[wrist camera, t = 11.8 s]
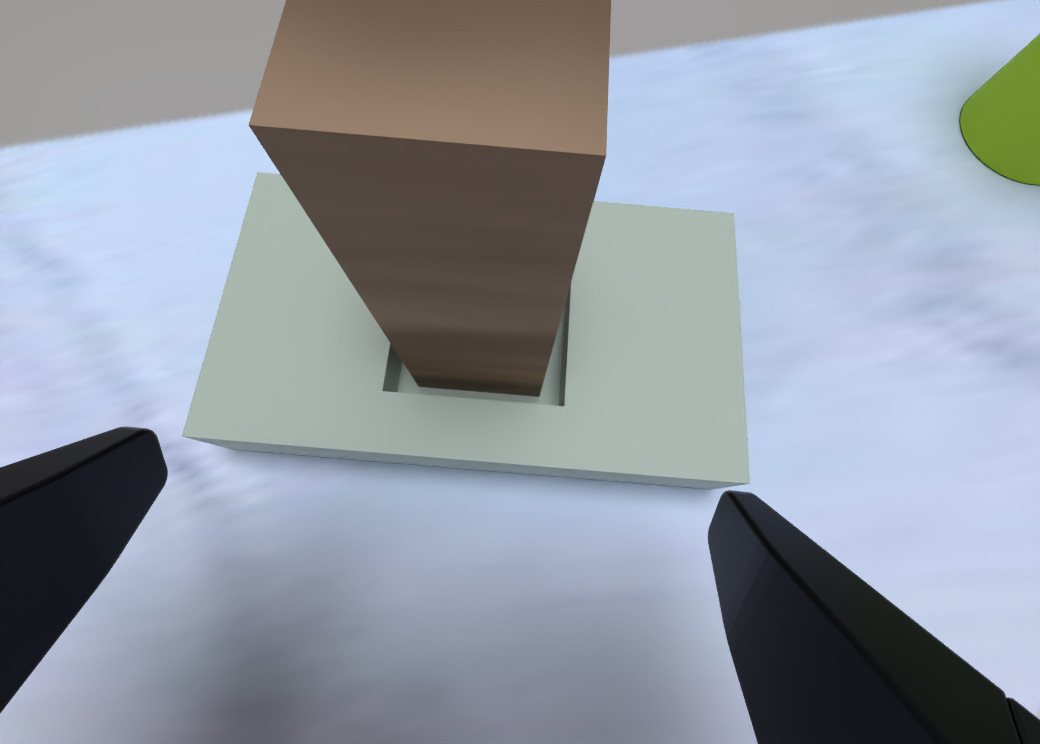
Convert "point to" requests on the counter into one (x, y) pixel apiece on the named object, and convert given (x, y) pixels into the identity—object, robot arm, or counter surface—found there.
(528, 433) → the sage rectangular frame
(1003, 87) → the soap dispenser
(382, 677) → the counter surface
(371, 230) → the walnut post
